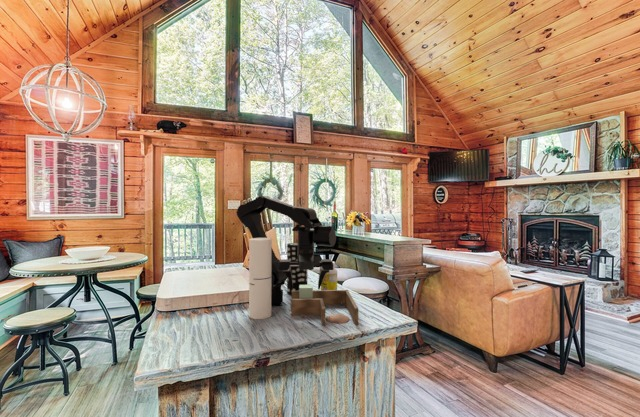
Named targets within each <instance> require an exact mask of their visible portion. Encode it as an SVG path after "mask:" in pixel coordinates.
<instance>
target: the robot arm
mask: <svg viewBox="0 0 640 417" xmlns="http://www.w3.org/2000/svg"><path fill="white" fill-rule="evenodd" d="M265 210H270V211H273V212H276V213H277V214H281V215H284V216H286V217H288V218H290V220H291V221H292V222H293V223H296V224H295V226H294V227H293V228H292V229H291V230H292V231H293V232H297V243H298V256H297V262H290V259H287V258H286V259H279V258H278V257H277V256H276V253H275V251H274V250H273V248H272V246H271V307H272V306H273V307H274V306H275V307H278V306H280V307H281V306H282V303H283V302H284V290H283V289H282V286H283V285H285V283H286V281H287V278H288V280H289V283H290V286H291V289H292V290H293V281H292V273H291V267H299V270H307V271H308V270H309V271H313V270H314V268H319V274H318V282H317V289H318V290H321V284H322V281H323V278H324V276H325V274H326V273H327V272H329V270H333V262H334V261H333V262H332V259H330V258H328V259H325V258H324V259H321V258H320V254H315V245H316V246H319V247H321V246H322V247H334V246H335V244H336V242H337V234H336V231H335V229H334V226H333V225H323V224H322V222H321V221H320V219H319V218H318V215H317V212H316V210H315V209H314V208H312V207H311V208H310V207H305V206H304V207H303V206H295V205H293V204H289V203H286V202H285V201H284V202H283V201H280V200H278V199H275V198H272V197H270V196H268V195H260V196H257V197H256V198H254V199H253V200H250V201H247V202H246V203H243V204H241V205H239V206H238V207H237V210H236V216H237V218H238V220H239V221H240V222H241V224H242V225H244V226H245V227H246V228H247V229H248V231H249V233H250V235H251V237H252V238H268V237H267V234H266V232H265V230H264V228H263V226H262V225H263V224H262V223H261V222H262V214H261V213H263V212H265Z"/></svg>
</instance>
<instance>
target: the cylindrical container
mask: <svg viewBox="0 0 640 417" xmlns="http://www.w3.org/2000/svg"><path fill="white" fill-rule="evenodd" d="M272 240H273V239H272V238H271V237H267V238H249V239H248V246H249V247H248V248H249V249H248V253H249V255H248V256H249V257H248V258H249V260H248V261H249V262H248V263H249V264H248V274H249V275H248V282H249V283H248V285H249V286H248V298H249V299H248V301H249V302H248V306H249V307H248V317H249V318H251V319H253V320H264V319H268V318H271V316H272V306H271V247H272V242H273V241H272Z"/></svg>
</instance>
